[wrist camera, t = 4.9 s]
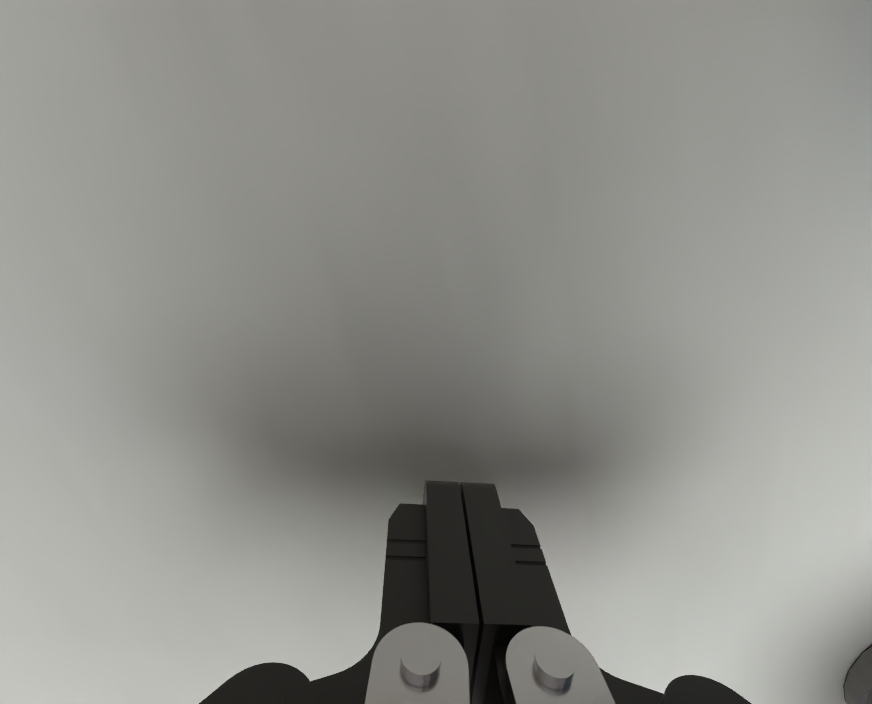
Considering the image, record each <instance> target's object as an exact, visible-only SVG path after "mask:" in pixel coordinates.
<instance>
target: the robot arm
mask: <svg viewBox="0 0 872 704" xmlns="http://www.w3.org/2000/svg"><path fill="white" fill-rule="evenodd" d="M199 704H751V703H750V702H748V701H747V700H746V699H744V698H743V697H742V696H740V695H739V694H737V693H736V692H735V691H733V690H732V689H730V688H728V687H727V686H725V685H723V684H721V683H719V682H717V681H714V680H712V679H709V678H706V677H702V676H696V675H685V676H681V677H678V678H676V679H674V680H672V681H671V682H670V683H669V684H668V686H667V688H666V690H665V693H664V694H663V693H660V692H657V691H654V690H651V689H648V688H645V687H642V686H639V685H636V684H633V683H630V682H627V681H624V680H622V679H619V678H617V677H614V676H612V675H611V674H609V673H607V672H605V671H604V670H602V669H601V668H599V666H598V664H597V663H596V661H595V659H594V657H593V656H592V655H591V653H590V652H589V651H588V649H587V648H586V647H585V646H584V645H583V644H582V643H580V642H579V641H578V640H577V639H575V638H574V637H572V636H571V633H570V631H569V628H568V625H567V622H566V619H565V617H564V614H563V611H562V608H561V605H560V602H559V599H558V596H557V593H556V590H555V587H554V584H553V581H552V579H551V576H550V573H549V570H548V567H547V566H546V561H545V558H544V555H543V552H542V549H540V543H539V541H538V538H537V535H536V532H535V529H534V526H533V525H532V524H531V523H530V521H529V520H528V519H527V518H526V517H525V516H524V515H523V514H522V513H521V511H520V510H519V509H507V508H501V506H500V502H499V498H498V494H497V490H496V487H495V485H494V484H486V483H467V482H461V483H460V485H459V482H445V481H425V485H424V495H423V505H420V504H399V506H398V507H397V509H396V510H395V511H394V513H393V514H392V516H391V517H390V518H389V523H388V535H387V548H386V560H385V572H384V585H383V597H382V610H381V622H380V630H379V634H378V637H377V640H376V641H375V643H374V645H373V647H372V648H371V650H370V651H369V652H368V654H367V655H366V656H365V657H363V658H362V659H361V660H360V661H359V662H358V663H356V664H355V665H354V666H352V667H350V668H348V669H346V670H344V671H342V672H339V673H336V674H333V675H330V676H327V677H324V678H320V679H317V680H314V681H309V679H308V678H307V677H306V676H305V675H304V674H303V673H302V672H301V671H299V670H298V669H297V668H295V667H292V666H290V665H287V664H283V663H263V664H259V665H255V666H252V667H249V668H247V669H245V670H243V671H241V672H239V673H237V674H236V675H234V676H233V677H231V678H230V679H229V680H227V681H226V682H225V683H224V684H222V685H221V686H220V687H219V688H218V689H216V690H215V691H214V692H213V693H211V694H210V695H209V696H208V697H207V698H205V699H204V700H203V701H202V702H201V703H199Z"/></svg>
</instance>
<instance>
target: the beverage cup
mask: <svg viewBox="0 0 872 704" xmlns="http://www.w3.org/2000/svg"><path fill="white" fill-rule="evenodd" d="M844 691H845V700H846V702H847V703H848V704H872V646H871V647H870V648H869V649H867V650H866V651H865V652H864V653H862V654H861V656H860V657H859V658H858V660H857V661H856V662H855V664H854V665H853V666H852V668H851V669H850V670H849V673H848V676H847V679H846V682H845V685H844Z"/></svg>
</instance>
